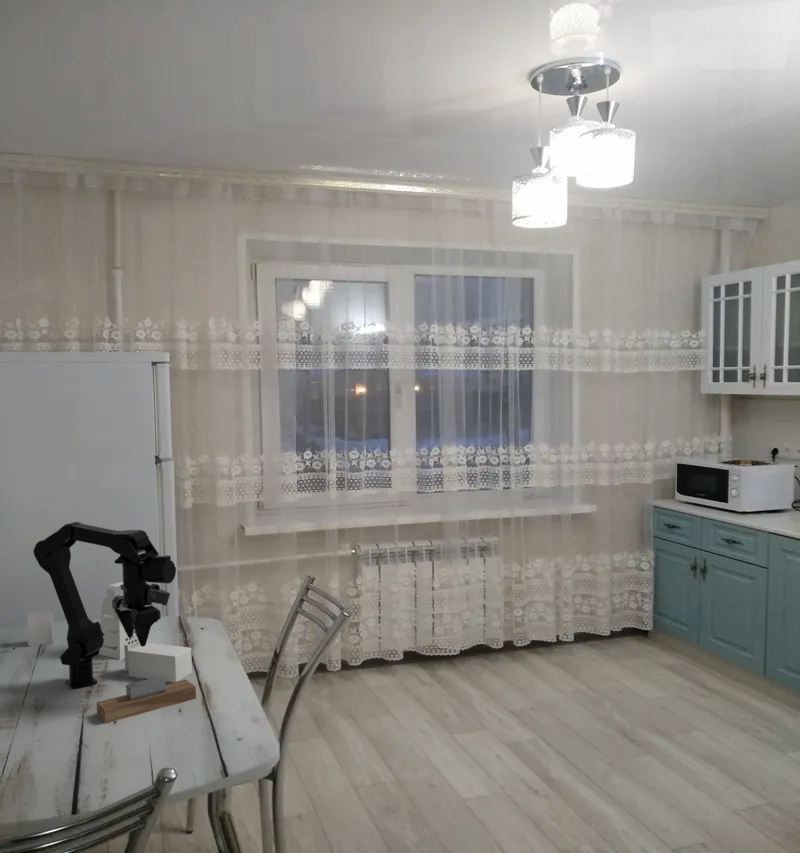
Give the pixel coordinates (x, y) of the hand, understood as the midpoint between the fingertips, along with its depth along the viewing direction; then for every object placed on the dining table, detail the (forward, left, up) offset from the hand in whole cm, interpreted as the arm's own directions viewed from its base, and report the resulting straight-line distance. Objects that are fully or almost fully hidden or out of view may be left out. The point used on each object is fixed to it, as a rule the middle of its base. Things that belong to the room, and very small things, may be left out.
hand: (136, 641), depth 198 cm
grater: (-32, +7, -13) cm, 35 cm away
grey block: (+12, -2, -12) cm, 17 cm away
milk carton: (+1, +12, -9) cm, 15 cm away
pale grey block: (-55, -10, -13) cm, 57 cm away
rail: (+12, -2, -12) cm, 17 cm away
